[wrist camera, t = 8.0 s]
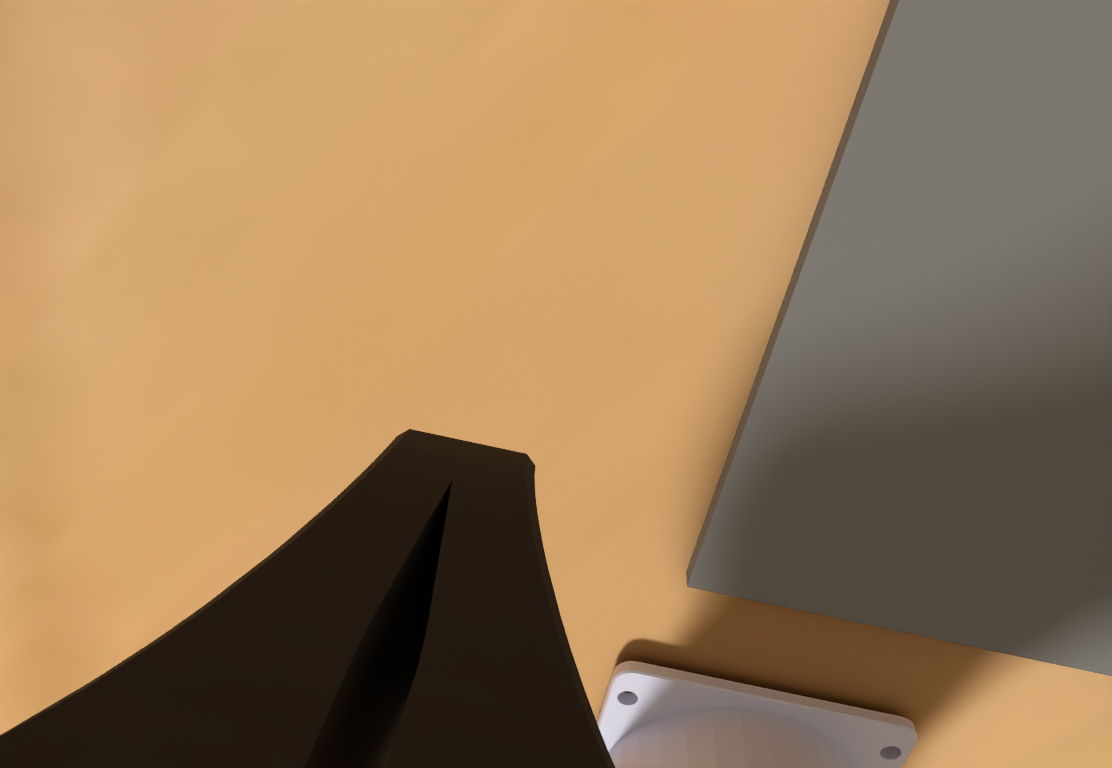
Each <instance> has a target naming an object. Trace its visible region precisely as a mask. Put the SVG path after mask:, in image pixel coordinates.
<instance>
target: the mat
mask: <svg viewBox="0 0 1112 768" xmlns="http://www.w3.org/2000/svg"><path fill="white" fill-rule="evenodd" d="M686 574H687V587H691V588H696V589H701V590H706V591H710V592H715V593H720V594H725V595H729V596H734V597H739V598H744V599H748V600H753V601H758V602H763V603H767V604H772V605H777V606H782V607H786V608H791V609H796V610H801V611H805V612H810V613H815V614H820V615H824V616H829V617H834V618H839V619H843V620H848V621H853V622H858V623H862V624H867V625H872V626H877V627H881V628H886V629H891V630H896V631H900V632H905V633H910V634H915V635H919V636H924V637H929V638H934V639H938V640H943V641H948V642H953V643H957V644H962V645H967V646H972V647H976V648H981V649H986V650H991V651H995V652H1000V653H1005V654H1010V655H1014V656H1019V657H1024V658H1029V659H1033V660H1038V661H1043V662H1048V663H1052V664H1057V665H1062V666H1067V667H1071V668H1076V669H1081V670H1086V671H1090V672H1095V673H1100V674H1105V675H1109V676H1112V0H891V1H890V3H889V6H888V9H887V12H886V15H885V17H884V20H883V23H882V26H881V29H880V31H879V34H878V37H877V40H876V43H875V45H874V48H873V51H872V54H871V57H870V59H869V62H868V65H867V68H866V71H865V73H864V76H863V79H862V82H861V85H860V87H859V90H858V93H857V96H856V99H855V101H854V104H853V107H852V110H851V113H850V115H849V118H848V121H847V124H846V127H845V130H844V132H843V135H842V138H841V141H840V144H839V146H838V149H837V152H836V155H835V158H834V160H833V163H832V166H831V169H830V172H829V174H828V177H827V180H826V183H825V186H824V188H823V191H822V194H821V197H820V200H819V202H818V205H817V208H816V211H815V214H814V216H813V219H812V222H811V225H810V228H809V230H808V233H807V236H806V239H805V242H804V244H803V247H802V250H801V253H800V256H799V258H798V261H797V264H796V267H795V270H794V272H793V275H792V278H791V281H790V284H789V286H788V289H787V292H786V295H785V298H784V300H783V303H782V306H781V309H780V312H779V314H778V317H777V320H776V323H775V326H774V328H773V331H772V334H771V337H770V340H769V342H768V345H767V348H766V351H765V354H764V356H763V359H762V362H761V365H760V368H759V370H758V373H757V376H756V379H755V382H754V384H753V387H752V390H751V393H750V396H749V398H748V401H747V404H746V407H745V410H744V412H743V415H742V418H741V421H740V424H739V426H738V429H737V432H736V435H735V438H734V440H733V443H732V446H731V449H730V452H729V454H728V457H727V460H726V463H725V466H724V468H723V471H722V474H721V477H720V480H719V482H718V485H717V488H716V491H715V494H714V496H713V499H712V502H711V505H710V508H709V510H708V513H707V516H706V519H705V522H704V524H703V527H702V530H701V533H700V536H699V538H698V541H697V544H696V547H695V550H694V552H693V555H692V558H691V561H690V564H689V566H688V569H687V572H686Z"/></svg>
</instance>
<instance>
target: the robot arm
mask: <svg viewBox="0 0 1112 768" xmlns="http://www.w3.org/2000/svg"><path fill="white" fill-rule="evenodd" d="M534 474H535V465H534V463H533V462H532V461H531V459H530V458H529V456H528V455H527V454H524V453H519V452H515V451H510V450H505V449H501V448H496V447H491V446H487V445H482V444H477V443H472V442H468V441H463V440H458V439H454V438H449V437H444V436H440V435H435V434H430V433H425V432H421V431H416V430H411V429H409V430H407V431H405V432H404V433H402V434H400V435H398V436H397V437H396V438H395V439H394V440H393V441H392V443H391V444H390V445H389V446H388V447H387V448H386V449H385V450H384V451H383V452H382V453H381V454H380V455H379V456H378V457H377V458H376V460H375V461H374V462H373V463H372V464H371V465H370V466H369V467H368V468H367V469H366V470H365V471H364V472H363V473H362V474H361V475H360V476H358V477H357V478H356V479H355V480H354V481H353V482H352V483H351V484H350V485H349V486H348V487H347V488H346V489H345V490H344V491H343V492H342V493H341V494H339V495H338V496H337V497H336V498H335V499H334V500H333V501H332V502H331V503H330V504H329V505H327V506H326V507H325V508H324V509H323V510H322V511H321V512H319V513H318V514H317V515H316V516H315V517H314V518H313V519H311V520H310V521H309V522H308V523H307V524H306V525H305V526H303V527H302V528H301V529H300V530H299V531H298V532H297V533H295V534H294V535H293V536H292V537H291V538H290V539H288V540H287V541H286V542H285V543H284V544H283V545H281V546H280V547H279V548H278V549H277V550H275V551H274V552H273V553H272V554H270V555H269V556H268V557H267V558H265V559H264V560H263V561H261V562H260V563H259V564H258V565H256V566H255V567H254V568H252V569H251V570H250V571H249V572H247V573H246V574H245V575H243V576H242V577H241V578H239V579H238V580H237V581H236V582H234V583H233V584H232V585H230V586H229V587H228V588H227V589H225V590H224V591H223V592H221V593H220V594H219V595H217V596H216V597H215V598H214V599H212V600H211V601H210V602H208V603H207V604H206V605H204V606H203V607H202V608H200V609H199V610H197V611H196V612H195V613H193V614H192V615H190V616H189V617H188V618H186V619H185V620H183V621H182V622H180V623H179V624H178V625H176V626H175V627H173V628H172V629H171V630H169V631H168V632H166V633H165V634H163V635H162V636H160V637H159V638H157V639H156V640H154V641H153V642H152V643H150V644H149V645H147V646H146V647H144V648H142V649H141V650H139V651H138V652H136V653H135V654H133V655H132V656H130V657H129V658H127V659H126V660H124V661H122V662H121V663H119V664H118V665H116V666H115V667H113V668H112V669H110V670H109V671H107V672H106V673H104V674H102V675H101V676H99V677H98V678H96V679H94V680H93V681H91V682H90V683H88V684H86V685H85V686H83V687H81V688H79V689H78V690H76V691H74V692H73V693H71V694H69V695H68V696H66V697H64V698H63V699H61V700H59V701H58V702H56V703H54V704H52V705H51V706H49V707H47V708H46V709H44V710H42V711H41V712H39V713H37V714H36V715H34V716H32V717H31V718H29V719H27V720H25V721H24V722H22V723H20V724H19V725H17V726H15V727H14V728H12V729H10V730H9V731H7V732H5V733H3V734H2V735H0V768H901V767H902V766H903V764H904V763H905V761H906V759H907V758H908V756H909V754H910V753H911V751H912V749H913V748H914V746H915V745H916V743H917V740H918V736H917V733H916V730H915V727H914V724H913V722H911V721H910V720H909V719H907V718H904V717H901V716H896V715H892V714H887V713H882V712H877V711H873V710H868V709H863V708H858V707H853V706H849V705H844V704H839V703H834V702H829V701H825V700H820V699H815V698H810V697H805V696H801V695H796V694H791V693H786V692H781V691H777V690H772V689H767V688H762V687H758V686H753V685H748V684H743V683H738V682H734V681H729V680H724V679H719V678H714V677H710V676H705V675H700V674H695V673H690V672H686V671H681V670H676V669H671V668H666V667H662V666H657V665H652V664H647V663H643V662H638V661H626V662H622V663H620V664H619V665H617V666H616V668H615V669H614V671H613V674H612V677H611V680H610V683H609V686H608V689H607V692H606V695H605V698H604V701H603V704H602V707H601V710H600V714H599V717H598V720H597V722H596V719H595V717H594V714H593V711H592V709H591V706H590V703H589V701H588V698H587V695H586V693H585V690H584V687H583V684H582V681H581V678H580V675H579V672H578V669H577V667H576V664H575V661H574V658H573V655H572V652H571V649H570V646H569V643H568V639H567V636H566V633H565V629H564V626H563V623H562V620H561V616H560V612H559V609H558V605H557V601H556V597H555V593H554V590H553V586H552V582H551V578H550V574H549V570H548V567H547V562H546V558H545V553H544V548H543V543H542V538H541V532H540V526H539V521H538V514H537V507H536V498H535V480H534ZM624 691H630V692H633V693H624ZM888 746H890V747H888Z"/></svg>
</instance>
